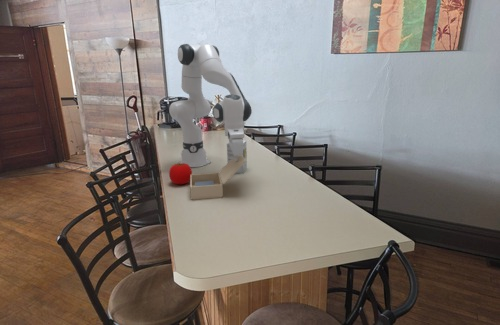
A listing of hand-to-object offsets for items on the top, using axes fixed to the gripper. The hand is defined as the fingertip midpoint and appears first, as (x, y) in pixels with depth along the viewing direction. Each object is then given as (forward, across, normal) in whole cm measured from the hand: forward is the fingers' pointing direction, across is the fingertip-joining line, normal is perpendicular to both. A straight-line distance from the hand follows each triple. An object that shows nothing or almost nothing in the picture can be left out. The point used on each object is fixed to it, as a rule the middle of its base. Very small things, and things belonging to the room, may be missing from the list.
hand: (235, 160), depth 149 cm
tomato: (+14, -16, -27) cm, 34 cm away
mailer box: (+14, -1, -15) cm, 20 cm away
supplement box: (+14, -30, +4) cm, 33 cm away
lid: (+3, -1, -2) cm, 4 cm away
